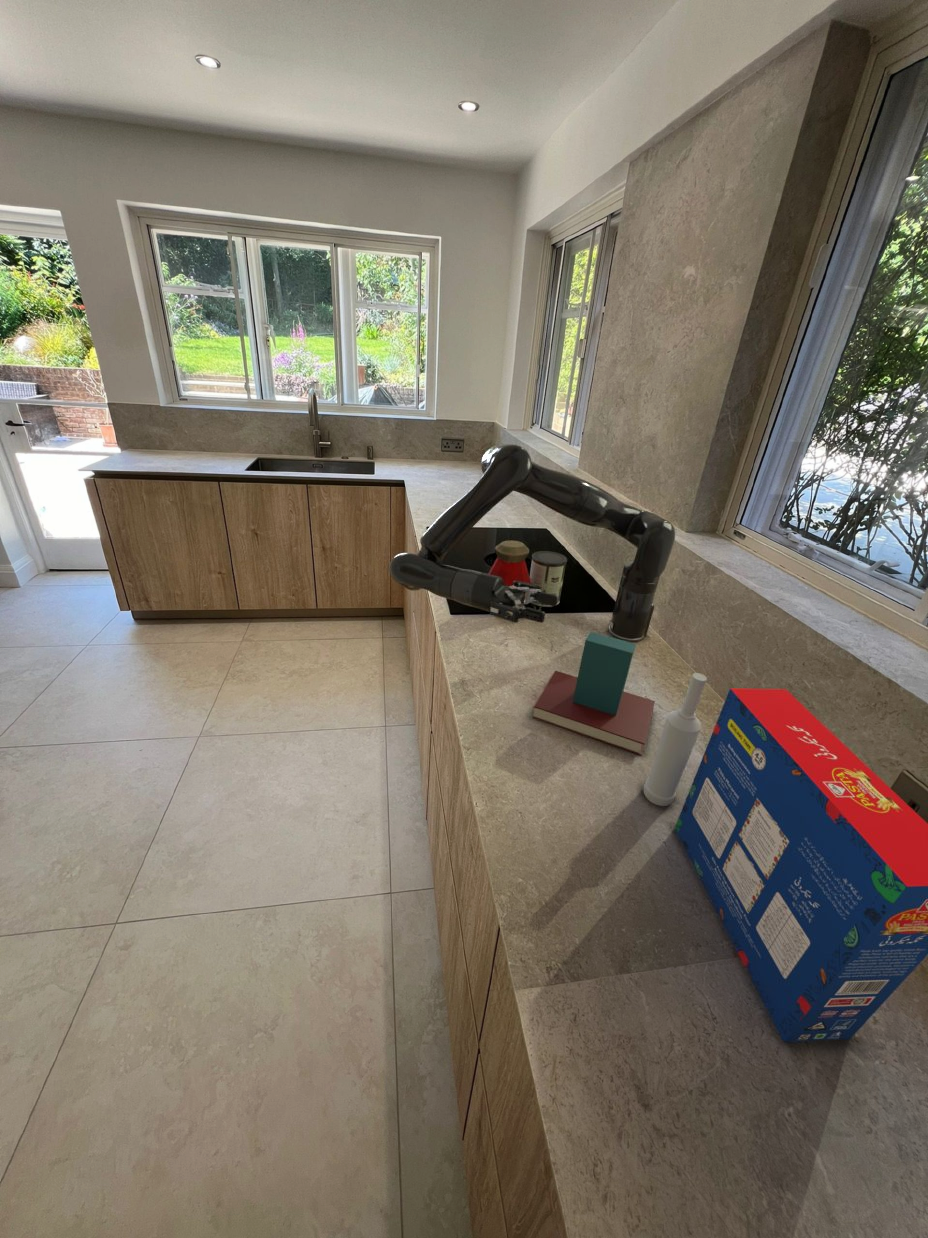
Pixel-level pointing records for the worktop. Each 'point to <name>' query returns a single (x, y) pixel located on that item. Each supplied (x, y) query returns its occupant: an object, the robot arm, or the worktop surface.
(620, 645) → the teal rectangular block
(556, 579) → the coffee can
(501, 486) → the robot arm
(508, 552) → the red lidded jar
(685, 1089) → the worktop surface
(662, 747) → the bottle
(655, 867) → the worktop surface
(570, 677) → the oxblood cookbook
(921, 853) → the pasta box
